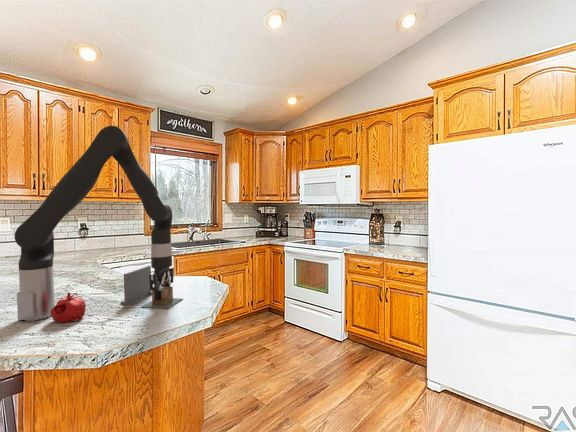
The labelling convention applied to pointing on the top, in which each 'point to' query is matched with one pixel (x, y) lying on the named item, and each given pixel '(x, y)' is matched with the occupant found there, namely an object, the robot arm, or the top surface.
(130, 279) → the screen
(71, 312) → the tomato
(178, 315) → the top surface
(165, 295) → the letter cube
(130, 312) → the top surface
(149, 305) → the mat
